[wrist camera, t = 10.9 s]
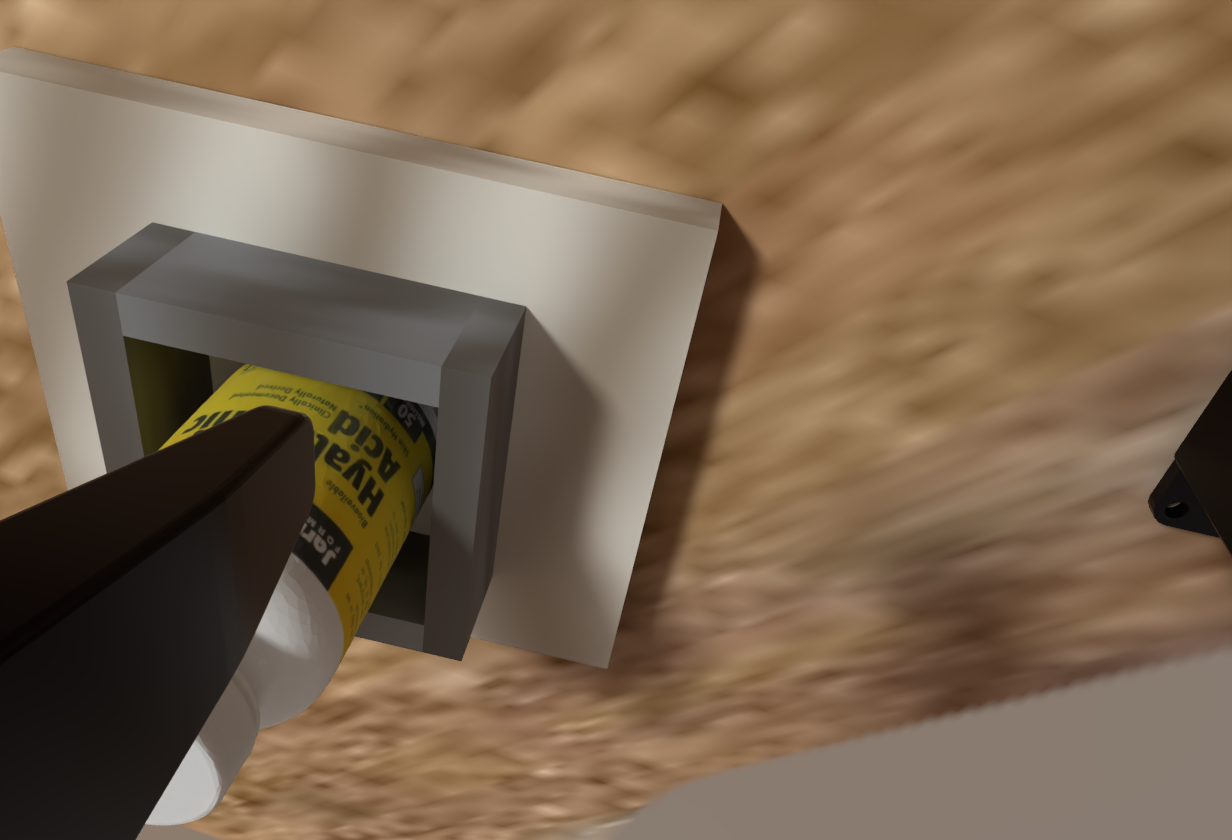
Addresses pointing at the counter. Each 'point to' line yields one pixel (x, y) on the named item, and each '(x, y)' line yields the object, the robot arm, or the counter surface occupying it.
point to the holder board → (365, 322)
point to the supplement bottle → (310, 563)
